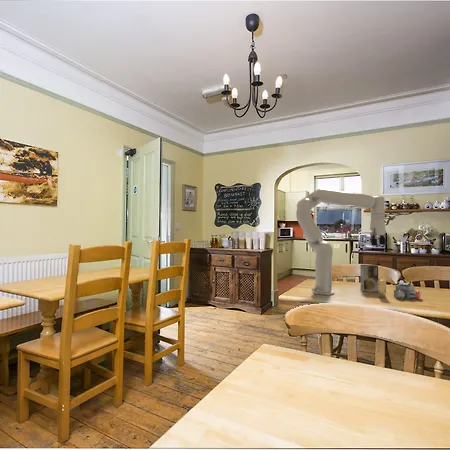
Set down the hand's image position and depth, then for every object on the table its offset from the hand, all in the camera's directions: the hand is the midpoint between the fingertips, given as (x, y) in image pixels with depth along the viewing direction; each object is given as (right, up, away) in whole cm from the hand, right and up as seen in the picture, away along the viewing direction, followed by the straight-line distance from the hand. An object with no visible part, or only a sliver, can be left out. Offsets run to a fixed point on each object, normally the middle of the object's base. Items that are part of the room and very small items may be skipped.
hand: (378, 244), depth 184 cm
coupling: (-2, -30, -8) cm, 31 cm away
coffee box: (-1, -30, +9) cm, 31 cm away
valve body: (+13, -30, -9) cm, 34 cm away
